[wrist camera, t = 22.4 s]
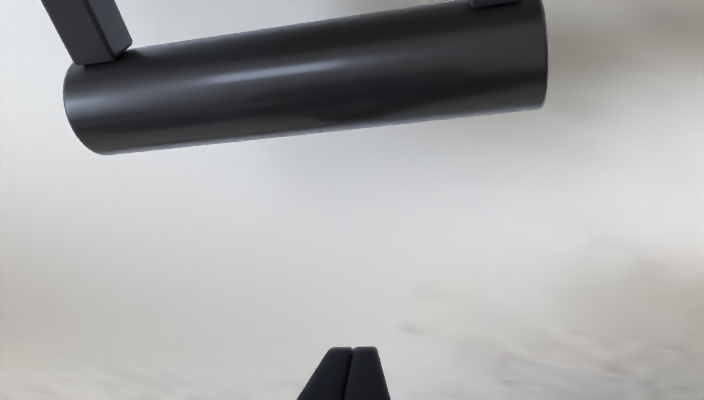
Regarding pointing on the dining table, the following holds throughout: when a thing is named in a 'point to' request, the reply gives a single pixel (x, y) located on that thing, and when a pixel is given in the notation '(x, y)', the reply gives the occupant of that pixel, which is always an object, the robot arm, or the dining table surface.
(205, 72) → the drawer
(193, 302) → the dining table surface
